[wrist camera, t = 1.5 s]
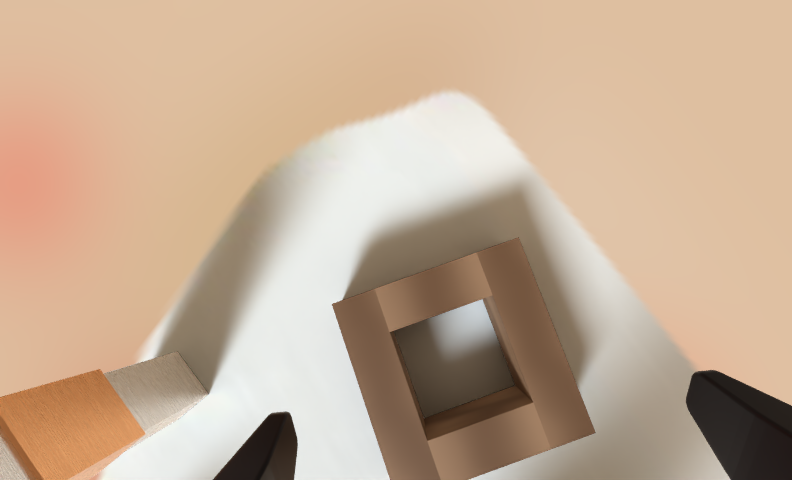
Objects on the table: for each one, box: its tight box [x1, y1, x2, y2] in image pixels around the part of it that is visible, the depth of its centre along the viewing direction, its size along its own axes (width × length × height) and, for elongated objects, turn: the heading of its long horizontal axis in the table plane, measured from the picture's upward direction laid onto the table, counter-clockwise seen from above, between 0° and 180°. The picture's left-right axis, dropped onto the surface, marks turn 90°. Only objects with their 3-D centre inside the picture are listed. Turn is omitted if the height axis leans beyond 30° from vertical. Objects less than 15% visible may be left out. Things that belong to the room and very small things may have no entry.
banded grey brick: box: [0, 352, 208, 480], centre depth 19 cm, size 4×3×12 cm
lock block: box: [332, 237, 595, 480], centre depth 23 cm, size 11×11×4 cm
